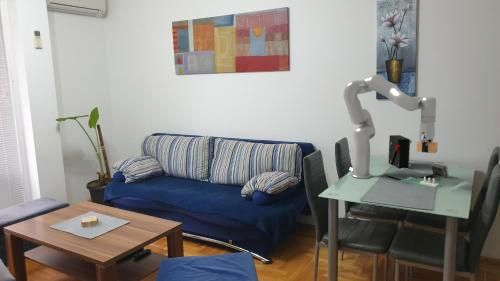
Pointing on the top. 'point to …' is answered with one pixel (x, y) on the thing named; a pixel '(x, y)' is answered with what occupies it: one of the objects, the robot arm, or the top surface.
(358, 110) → the robot arm
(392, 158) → the electrical component
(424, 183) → the pin header board
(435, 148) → the plug housing
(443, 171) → the electrical switch
